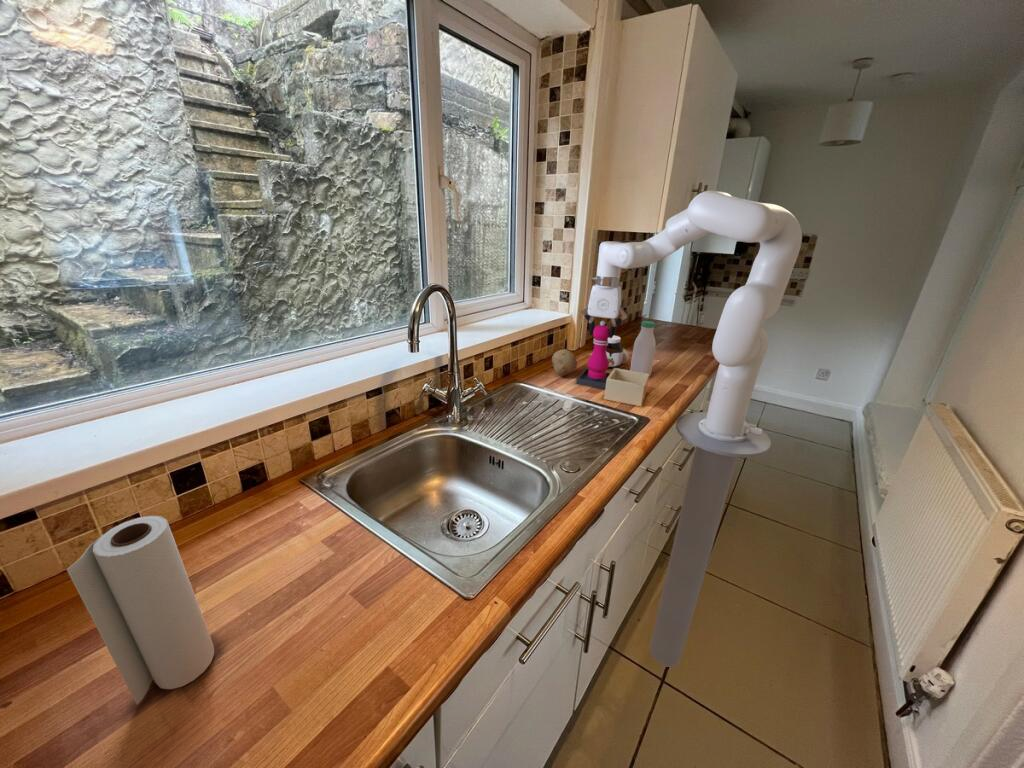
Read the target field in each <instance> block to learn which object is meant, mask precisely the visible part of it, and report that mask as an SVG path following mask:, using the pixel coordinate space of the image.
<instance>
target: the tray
mask: <svg viewBox="0 0 1024 768" xmlns="http://www.w3.org/2000/svg"><path fill="white" fill-rule="evenodd" d="M589 370H590V369H589V368H585V369H584V370H583V371H582V372H581V373H580V375H578V376H577V378H576V384H577V385H581V386H585V387H586V386H587V387H593V388H597V389H603V390H605V388H606V380H607V378H608V376H609V375H610V373H611V372H606V377H605V378H604V379H593V378H590V377H589V376H588V371H589Z"/></svg>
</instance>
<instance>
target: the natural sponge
mask: <svg viewBox="0 0 1024 768" xmlns="http://www.w3.org/2000/svg"><path fill="white" fill-rule="evenodd" d="M551 361H552V362H551V363H552V366H553V369H554V371H555V373H556V374H557V375H558V376H559V377H565V376H567V375H568V374H570V373H572V372H574V371H575V370H576V369H577V367H578V361H577V359H576V356H575V355H574V353H573V352H572V351H570V350H569V349H566V348H563V349H558V350H557V351H555V352H554V353H553V355H552V356H551Z"/></svg>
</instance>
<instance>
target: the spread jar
mask: <svg viewBox="0 0 1024 768" xmlns="http://www.w3.org/2000/svg"><path fill="white" fill-rule="evenodd" d="M621 339H622V338H621V337H620V336H619V335H616V334H615V335H613V337H612V338H608V344H607V345H606V355H607V358H608V362H609V367H608V369H607V370H613V369H614V368H618V367H619V366H621V364H626V363H627V362H628V361H629V358H630V355H629V353H628V351H627V350H626V349H625V348H624V346H623V344H622V343H621Z"/></svg>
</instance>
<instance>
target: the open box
mask: <svg viewBox="0 0 1024 768" xmlns="http://www.w3.org/2000/svg"><path fill="white" fill-rule="evenodd" d="M609 373H610V375H609V376H608V378H607V380H606V388H605V389H604V397H603V400H608V401H611V402H612V401H613V402H617V403H622V404H626V405H632V406H637V407H642V405H643V402H644V400H645V398H646V395H647V393H648V386H649V381H650V376H651V375H650V374H647V373H641V372H635V371H630V369H624V368H623V369H622V368H618V367H617V368H614V369H612V370H611V372H609ZM649 375H650V376H649Z"/></svg>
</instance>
